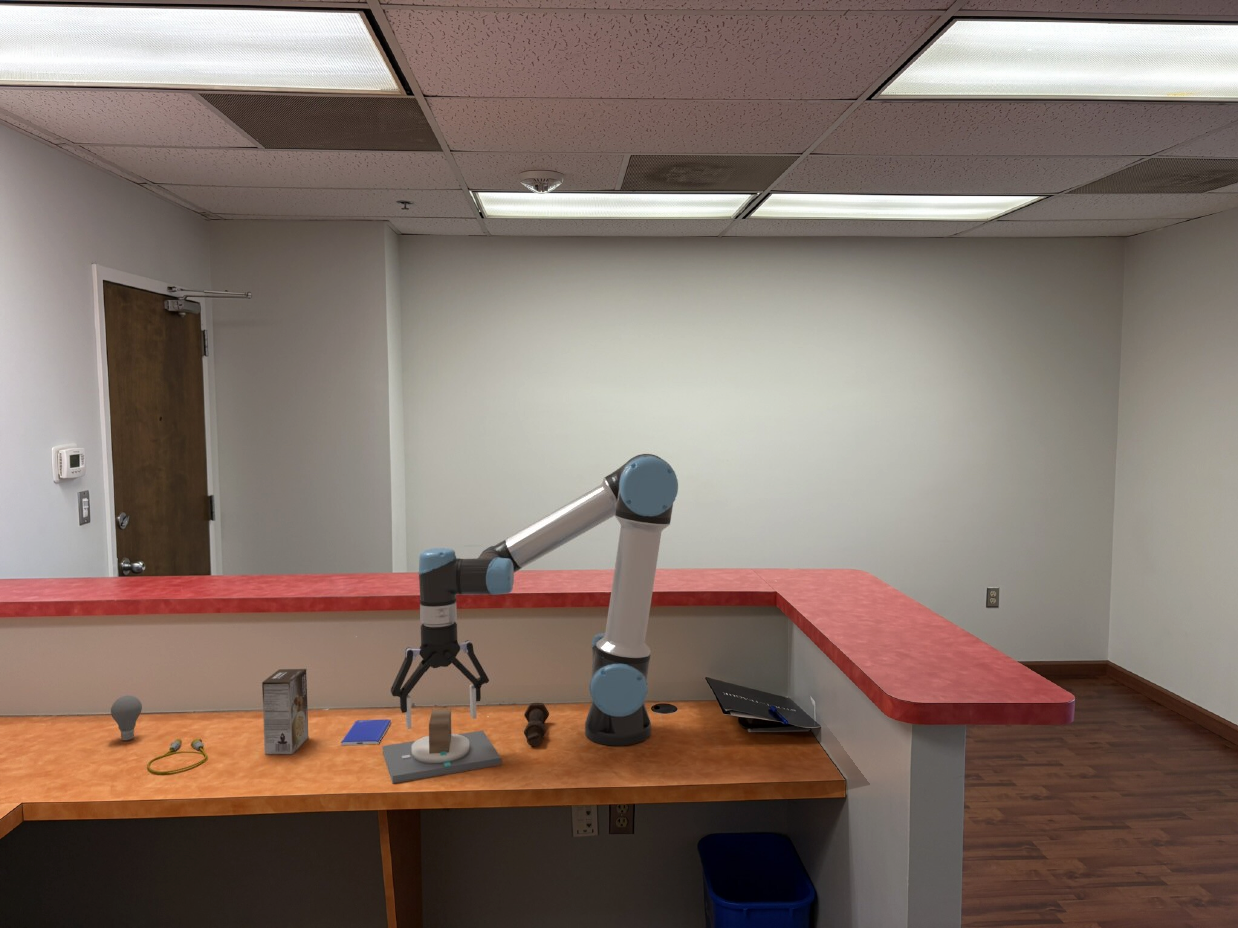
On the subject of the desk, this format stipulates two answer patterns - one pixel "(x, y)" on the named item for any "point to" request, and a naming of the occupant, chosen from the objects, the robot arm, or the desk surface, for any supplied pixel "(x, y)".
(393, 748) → the dial plate
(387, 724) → the hard drive
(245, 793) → the desk surface
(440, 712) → the dial
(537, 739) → the bolt
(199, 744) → the extension cord
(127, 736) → the light bulb
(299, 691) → the coffee box
